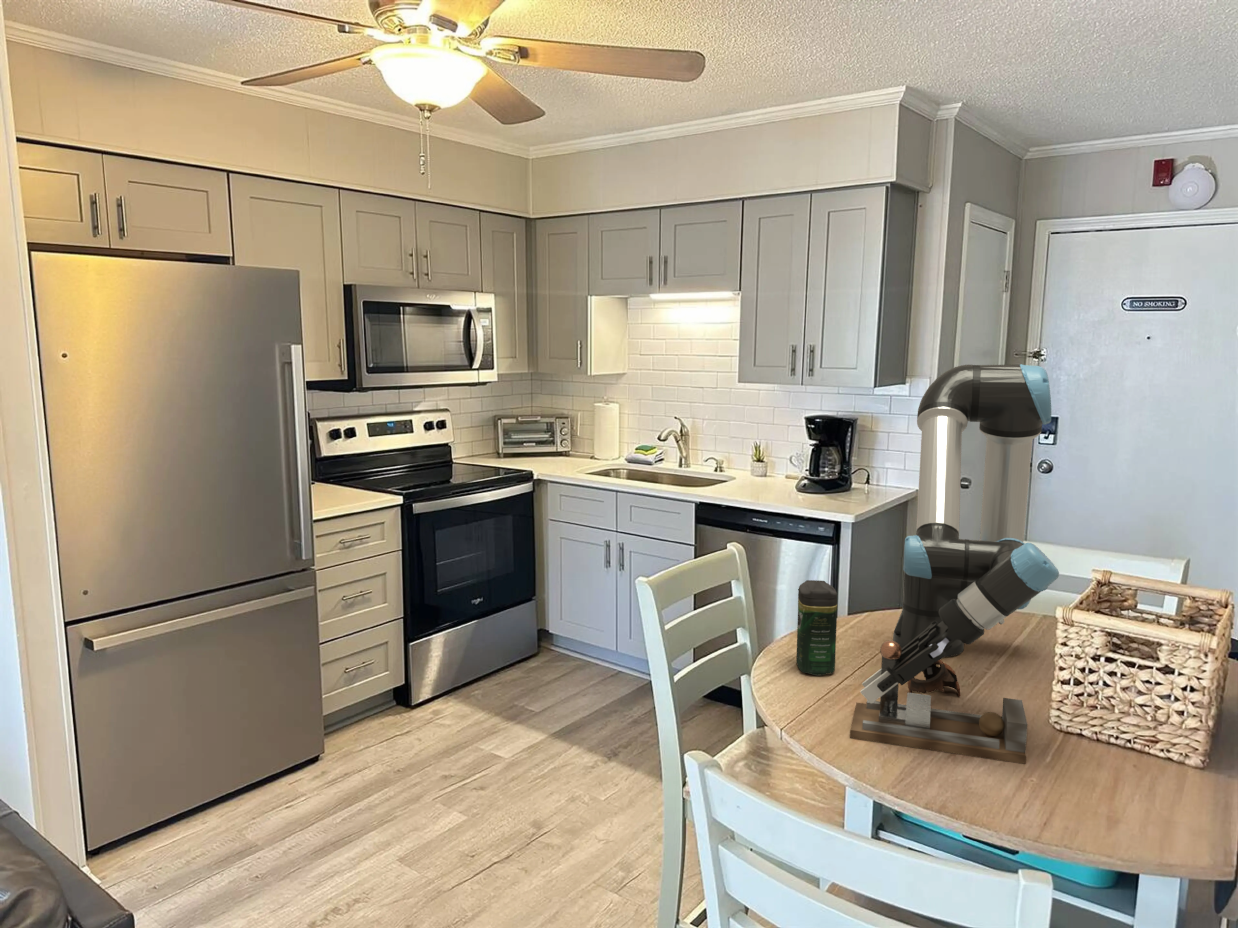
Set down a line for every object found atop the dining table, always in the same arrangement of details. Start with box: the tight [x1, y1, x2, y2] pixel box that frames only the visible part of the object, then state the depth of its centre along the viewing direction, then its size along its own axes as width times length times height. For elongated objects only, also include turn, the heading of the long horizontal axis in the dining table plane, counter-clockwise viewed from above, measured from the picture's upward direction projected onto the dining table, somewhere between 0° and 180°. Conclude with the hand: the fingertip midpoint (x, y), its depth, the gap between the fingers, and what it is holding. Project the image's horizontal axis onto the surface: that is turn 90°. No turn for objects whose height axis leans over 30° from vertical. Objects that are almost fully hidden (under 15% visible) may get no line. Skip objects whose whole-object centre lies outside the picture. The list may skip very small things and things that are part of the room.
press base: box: [849, 697, 1028, 765], centre depth 150 cm, size 28×12×6 cm, turn 70°
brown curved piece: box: [907, 659, 962, 697], centre depth 169 cm, size 12×10×8 cm
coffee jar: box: [795, 579, 838, 676], centre depth 180 cm, size 10×8×19 cm
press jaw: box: [879, 639, 932, 729], centre depth 151 cm, size 9×7×15 cm
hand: (866, 692), depth 154 cm, fingers closed on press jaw, 3 cm apart
